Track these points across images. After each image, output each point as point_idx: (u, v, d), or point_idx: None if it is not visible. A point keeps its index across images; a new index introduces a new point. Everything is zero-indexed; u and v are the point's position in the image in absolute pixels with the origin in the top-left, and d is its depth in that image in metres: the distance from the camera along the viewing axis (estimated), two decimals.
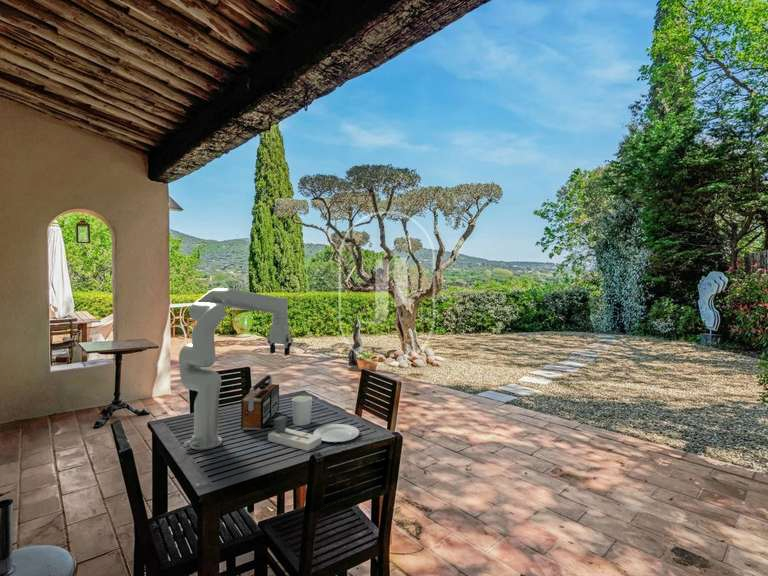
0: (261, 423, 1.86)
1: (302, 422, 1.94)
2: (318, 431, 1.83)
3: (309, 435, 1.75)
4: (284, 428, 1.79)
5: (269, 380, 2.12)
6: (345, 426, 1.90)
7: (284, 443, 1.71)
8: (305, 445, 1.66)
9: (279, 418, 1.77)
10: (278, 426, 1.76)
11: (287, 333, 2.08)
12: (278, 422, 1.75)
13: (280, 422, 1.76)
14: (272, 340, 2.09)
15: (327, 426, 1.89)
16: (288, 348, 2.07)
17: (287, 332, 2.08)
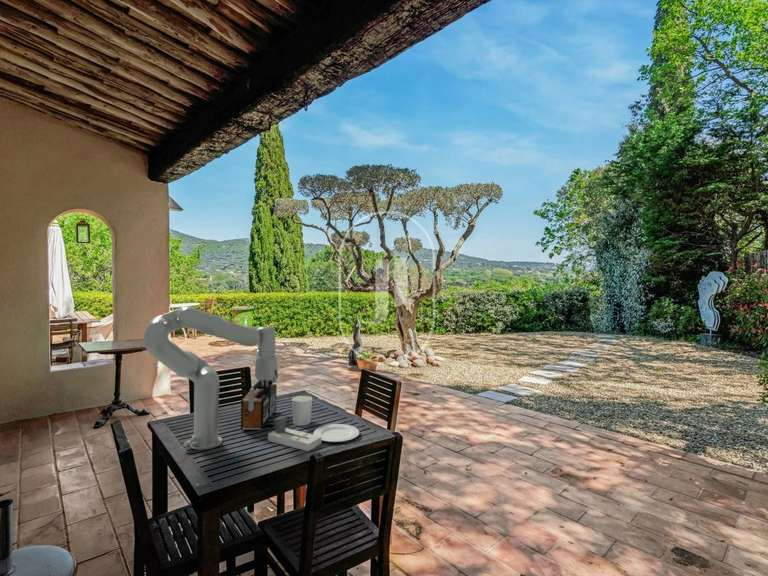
0: (261, 423, 1.86)
1: (302, 422, 1.94)
2: (318, 431, 1.83)
3: (309, 435, 1.75)
4: (284, 428, 1.79)
5: None
6: (345, 426, 1.90)
7: (284, 443, 1.71)
8: (305, 445, 1.66)
9: (279, 418, 1.77)
10: (278, 426, 1.76)
11: (275, 368, 1.79)
12: (278, 422, 1.75)
13: (280, 422, 1.76)
14: (258, 376, 1.80)
15: (327, 426, 1.89)
16: (269, 387, 1.81)
17: (275, 367, 1.79)
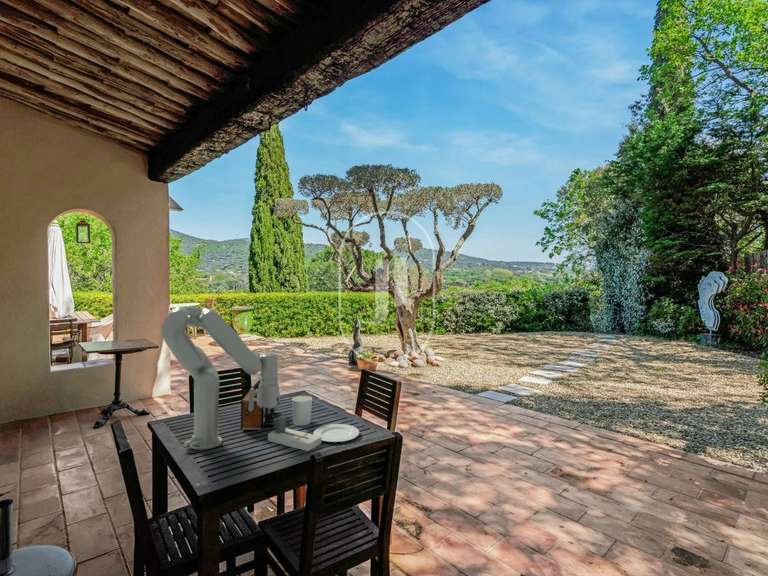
0: (261, 423, 1.86)
1: (302, 422, 1.94)
2: (318, 431, 1.83)
3: (309, 435, 1.75)
4: (284, 428, 1.79)
5: None
6: (345, 426, 1.90)
7: (284, 443, 1.71)
8: (305, 445, 1.66)
9: (279, 418, 1.77)
10: (278, 426, 1.76)
11: (277, 395, 1.79)
12: (278, 422, 1.75)
13: (280, 422, 1.76)
14: (260, 403, 1.80)
15: (327, 426, 1.89)
16: (271, 414, 1.80)
17: (277, 394, 1.79)
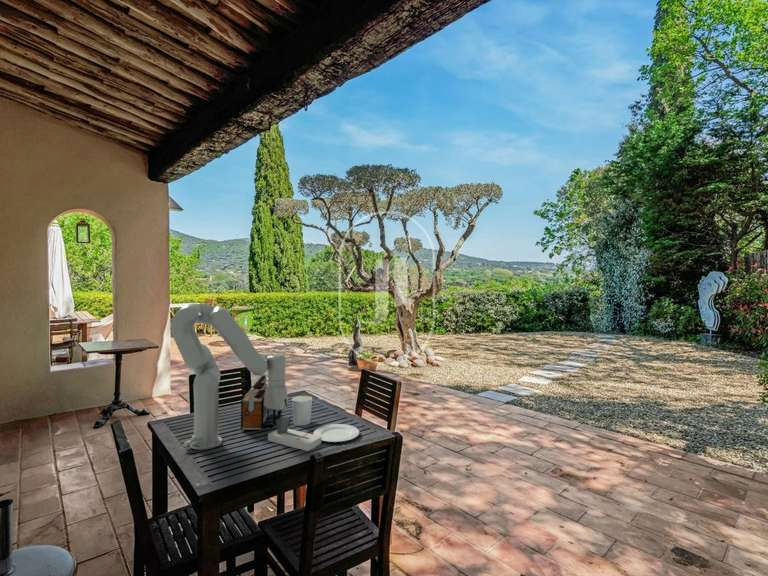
0: (261, 423, 1.86)
1: (302, 422, 1.94)
2: (318, 431, 1.83)
3: (309, 435, 1.75)
4: (286, 429, 1.78)
5: (264, 380, 2.12)
6: (345, 426, 1.90)
7: (284, 443, 1.71)
8: (305, 445, 1.66)
9: (281, 418, 1.77)
10: (280, 427, 1.75)
11: (285, 397, 1.77)
12: (280, 423, 1.75)
13: (282, 423, 1.75)
14: (267, 405, 1.78)
15: (327, 426, 1.89)
16: (278, 416, 1.78)
17: (285, 396, 1.77)
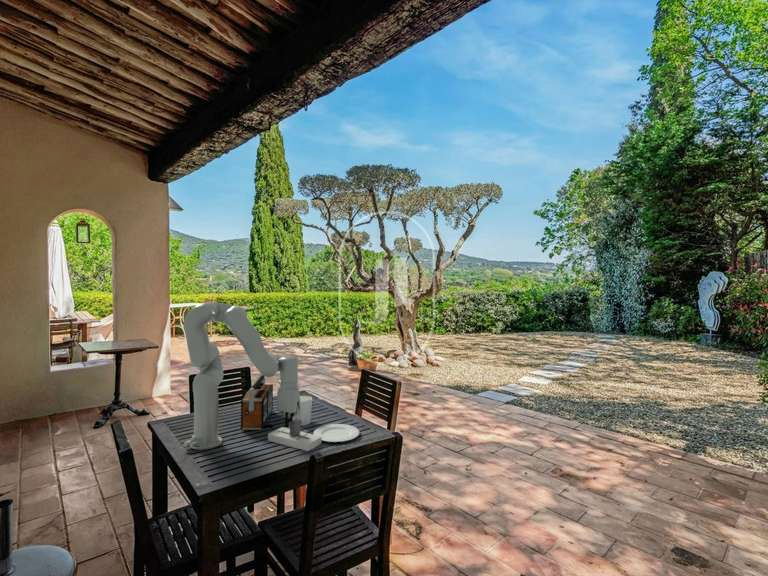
0: (262, 423, 1.86)
1: (302, 422, 1.94)
2: (318, 431, 1.83)
3: (309, 435, 1.75)
4: (299, 432, 1.75)
5: (262, 380, 2.12)
6: (345, 426, 1.90)
7: (284, 443, 1.71)
8: (305, 445, 1.66)
9: (294, 421, 1.73)
10: (293, 430, 1.72)
11: (297, 399, 1.74)
12: (293, 425, 1.72)
13: (295, 425, 1.72)
14: (279, 408, 1.75)
15: (327, 426, 1.89)
16: (291, 419, 1.75)
17: (297, 398, 1.74)
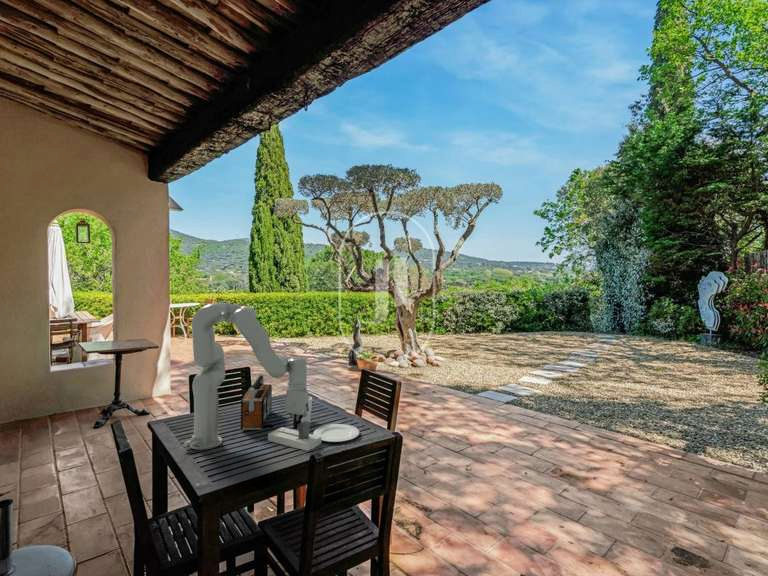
0: (262, 423, 1.86)
1: None
2: (318, 431, 1.83)
3: (309, 435, 1.75)
4: (308, 434, 1.73)
5: (261, 380, 2.12)
6: (345, 426, 1.90)
7: (284, 443, 1.71)
8: (305, 445, 1.66)
9: (303, 423, 1.71)
10: (302, 432, 1.70)
11: (306, 401, 1.71)
12: (302, 428, 1.69)
13: (304, 428, 1.70)
14: (288, 409, 1.72)
15: (327, 426, 1.89)
16: (299, 421, 1.73)
17: (306, 400, 1.71)
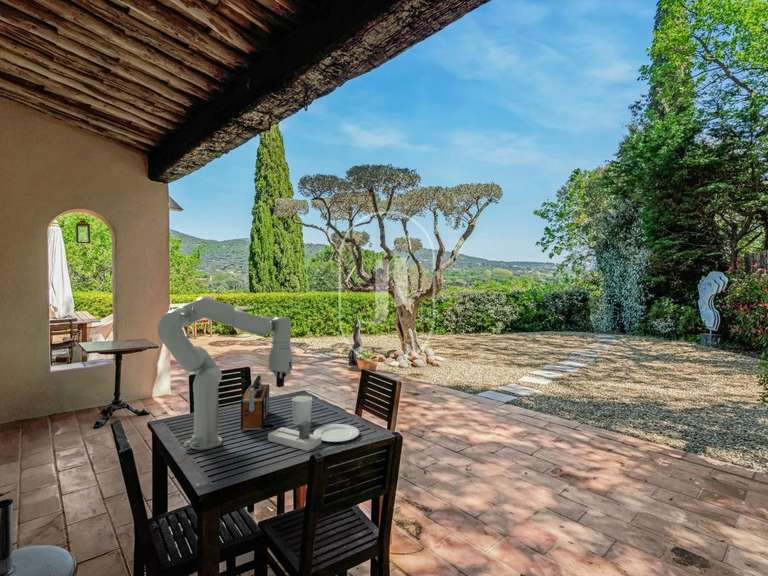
0: (262, 423, 1.86)
1: None
2: (318, 431, 1.83)
3: None
4: (308, 434, 1.73)
5: (259, 380, 2.12)
6: (345, 426, 1.90)
7: (284, 443, 1.71)
8: (305, 445, 1.66)
9: (303, 423, 1.71)
10: (302, 432, 1.70)
11: (289, 360, 1.75)
12: (302, 428, 1.69)
13: (304, 428, 1.70)
14: (271, 367, 1.76)
15: (327, 426, 1.89)
16: (282, 379, 1.76)
17: (289, 358, 1.75)
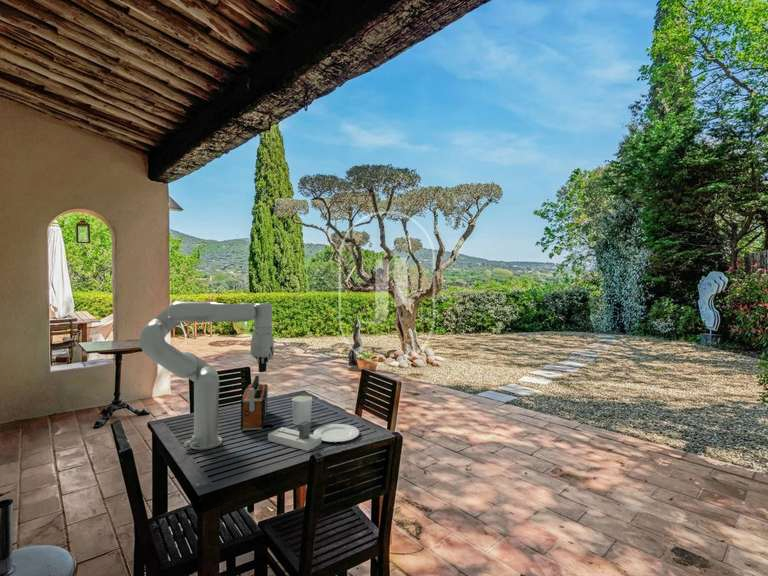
0: (262, 422, 1.86)
1: None
2: (318, 431, 1.83)
3: None
4: (308, 434, 1.73)
5: (257, 380, 2.11)
6: (345, 426, 1.90)
7: (284, 443, 1.71)
8: (305, 445, 1.66)
9: (303, 423, 1.71)
10: (302, 432, 1.70)
11: (271, 345, 1.77)
12: (302, 428, 1.69)
13: (304, 428, 1.70)
14: (253, 353, 1.78)
15: (327, 426, 1.89)
16: (264, 364, 1.79)
17: (271, 343, 1.77)
